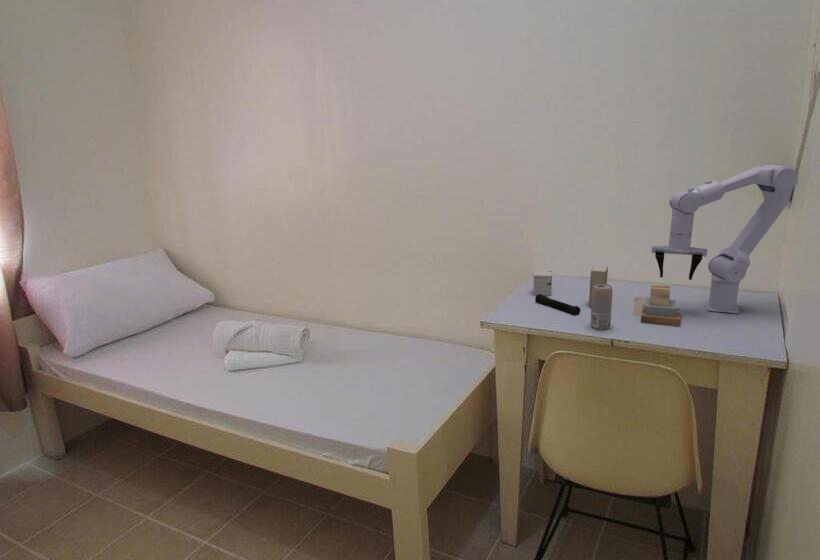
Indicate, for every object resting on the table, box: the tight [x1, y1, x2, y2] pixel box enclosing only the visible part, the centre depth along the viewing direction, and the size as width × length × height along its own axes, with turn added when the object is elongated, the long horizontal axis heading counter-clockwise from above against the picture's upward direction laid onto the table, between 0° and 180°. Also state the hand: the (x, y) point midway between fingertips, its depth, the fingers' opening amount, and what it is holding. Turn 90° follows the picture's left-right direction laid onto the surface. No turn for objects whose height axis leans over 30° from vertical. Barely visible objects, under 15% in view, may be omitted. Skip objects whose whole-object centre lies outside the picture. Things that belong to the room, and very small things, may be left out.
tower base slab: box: [640, 305, 681, 327], centre depth 152 cm, size 10×10×2 cm
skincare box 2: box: [588, 265, 609, 307], centre depth 165 cm, size 6×4×12 cm
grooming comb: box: [631, 296, 649, 317], centre depth 163 cm, size 18×10×1 cm, turn 149°
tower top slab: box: [645, 297, 677, 317], centre depth 152 cm, size 8×8×2 cm
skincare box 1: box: [532, 270, 553, 297], centre depth 180 cm, size 6×6×7 cm
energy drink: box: [590, 283, 613, 330], centre depth 147 cm, size 5×5×12 cm
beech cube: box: [649, 283, 671, 306], centre depth 151 cm, size 5×5×5 cm
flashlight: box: [535, 294, 581, 316], centre depth 165 cm, size 3×16×3 cm, turn 31°
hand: (675, 277), depth 155 cm, fingers open, 7 cm apart
